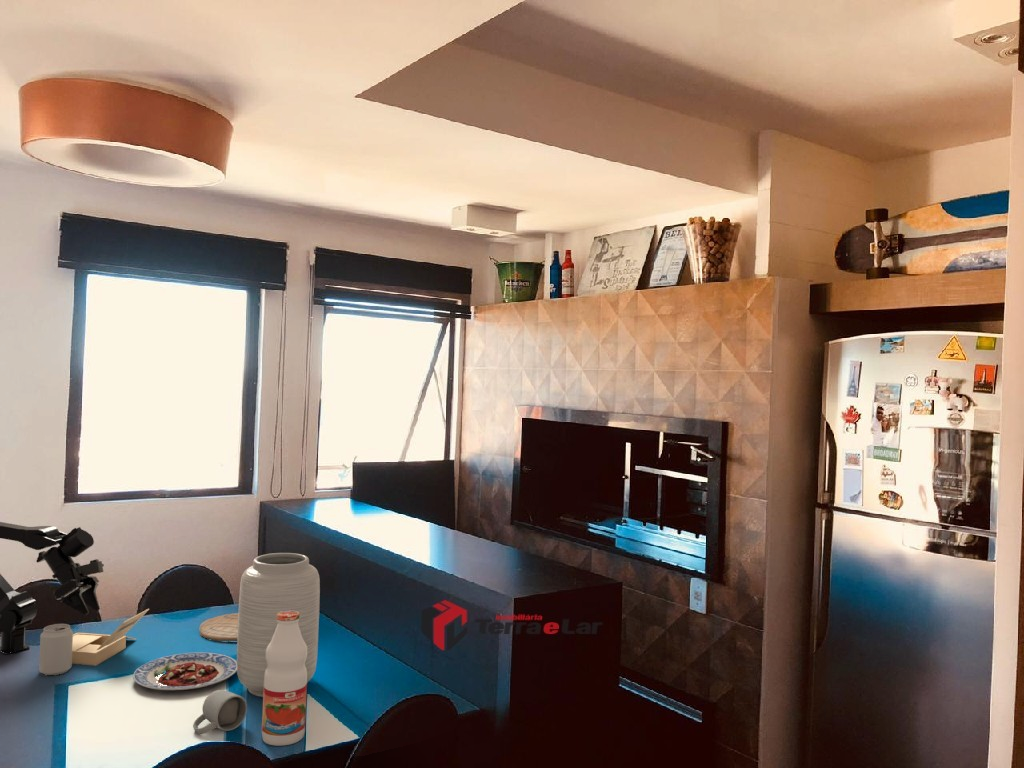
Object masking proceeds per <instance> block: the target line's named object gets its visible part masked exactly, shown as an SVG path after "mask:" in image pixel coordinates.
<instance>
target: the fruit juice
mask: <svg viewBox="0 0 1024 768" xmlns="http://www.w3.org/2000/svg"><path fill="white" fill-rule="evenodd" d="M298 621H299V612H297V611H292V610H287V611H281V612H279V613H278V614H277V622H278V625H277V627H276V630H275V633H274V635H273V638H272V640H271V642H270V643H269V645H268V646H267V649H266V655H265V657H266V662H267V669H266V671H265V675H264V688H263V697H262V718H261V738H262V740H263V742H264V743H265V744H267V745H269V746H277V747H278V746H279V747H281V746H282V747H283V746H290V745H293V744H296V743H298V742H299V741H301V740H302V739H303V738H304V736H305V733H306V714H307V713H306V712H307V710H306V709H307V689H308V682H307V670H306V667H305V661H306V658H307V645H306V643H305V642H304V640H303V638H302V635H301V632H300V628H299V625H298Z"/></svg>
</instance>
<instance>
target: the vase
mask: <svg viewBox="0 0 1024 768" xmlns="http://www.w3.org/2000/svg"><path fill="white" fill-rule="evenodd" d="M320 583H321V581H320V574H319V571H318V569H317V568H316V567H315V566H314V565H312V564H310V558H309V557H308V556H307V555H304V554H302V553H301V554H300V553H293V552H275V553H267V554H262V555H259V556H256V557H255V558H254V559H253V561H252V565H251V566H249V567H248V568H246V569H245V570H244V571H243V573H242V575H241V577H240V584H239V585H240V586H239V597H238V598H239V599H238V612H237V613H238V638H237V642H236V643H237V644H236V662H237V671H236V673H237V678H238V680H239V682H240V684H241V685H243V686H244V687H245V688H246V689H247V690H248V692H249V693H250V694H252V695H254V696H256V697H261V698H263V688H264V675H265V671H266V669H267V662H266V657H265V655H266V649H267V646H268V645H269V643H270V642H271V640H272V638H273V635H274V633H275V630H276V627H277V625H278V622H277V614H278V613H279V612H281V611H287V610H292V611H297V612H299V621H298V625H299V628H300V632H301V635H302V638H303V640H304V642H305V643H306V645H307V658H306V661H305V667H306V670H307V683H308V682H309V681H310V680H311V679H312V678H313V676H314V674H315V672H316V669H317V661H318V650H319V649H318V648H319V646H318V645H319V644H318V643H319V624H320V623H319V622H320V620H319V619H320V599H321V598H320V596H321V595H320V594H321V587H320V586H321V585H320Z"/></svg>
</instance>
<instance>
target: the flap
mask: <svg viewBox="0 0 1024 768" xmlns="http://www.w3.org/2000/svg"><path fill="white" fill-rule="evenodd" d="M149 610H150V608H147V609H145V610H144V611H142V612H140V613H137V614H136V615H134V616H132V617H130V618H128V619H126V620H123V622H121V624H120V625H119V626H118V627H117V628H116V629H115V630H114V631H113V632H112V633H111V634H109V635H110V636H109V637H108V639H107V640H106V641H105V642H104V643H103V644H102V645H101V646H100V647H99V648H98V649H97V650H99V649H101V648H103V647H105V646H106V645H108V644H110V643H112V642H114V641H115V640H117V639H119V638H121V637H123V636H126V635H127V633H128V632H129V631H130V630H131V629H132V628H133V627H134V626H135V625H136V624H137V623H138V622H139V621H140V620H141V619H142V618H143V617H144V615H146V613H148V611H149Z"/></svg>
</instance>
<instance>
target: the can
mask: <svg viewBox="0 0 1024 768" xmlns="http://www.w3.org/2000/svg"><path fill="white" fill-rule="evenodd" d="M42 630H43V631H42V632H41V633H40V637H39V639H40V640H39V662H38V663H39V665H38V671H39V673H41V674H42V673H43V674H45V675H44V676H47V675H54V676H58V675H59V674H60V675H62V674H65V673H67V672H68V671H69V670H70V669H71V668H72V667H73V666H72V665H73V664H72V643H73V633H74V632H73V629H72V628H71V625H70V624H67V623H53V624H50V625H47V626H45V627H43V629H42ZM43 674H42V675H43Z"/></svg>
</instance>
